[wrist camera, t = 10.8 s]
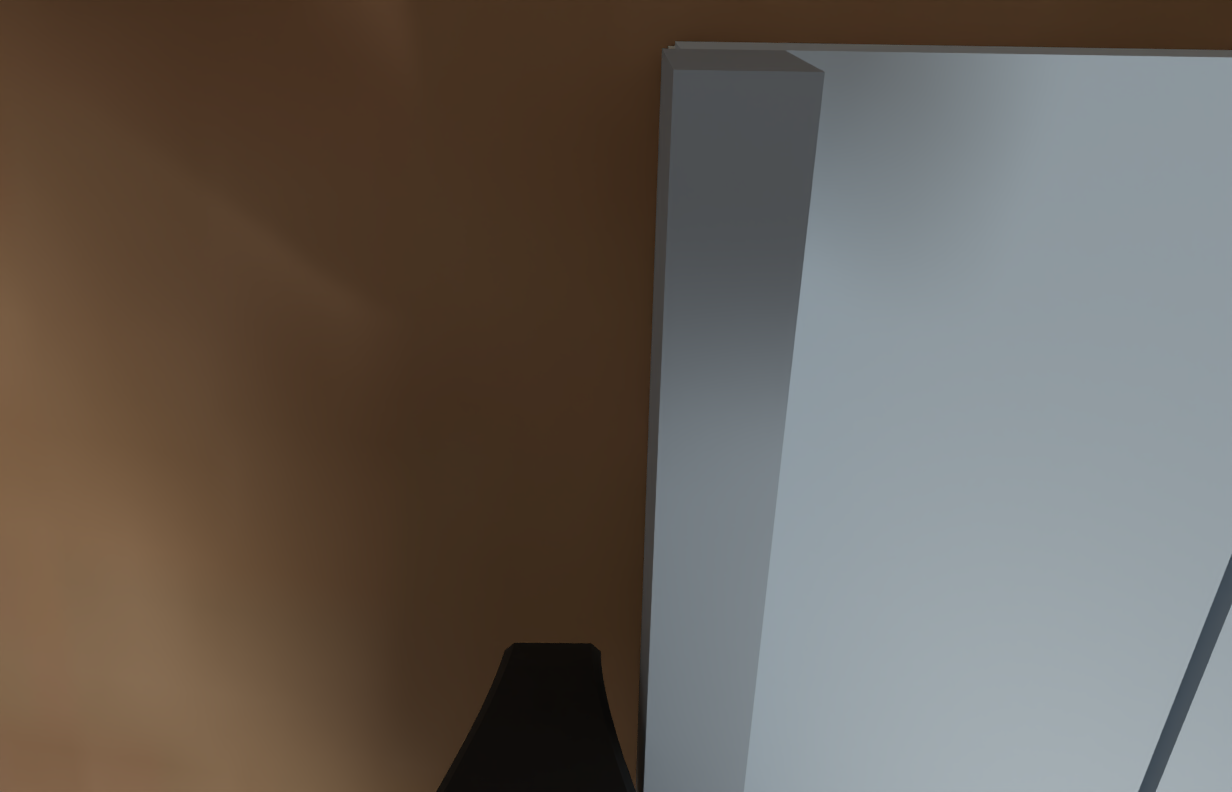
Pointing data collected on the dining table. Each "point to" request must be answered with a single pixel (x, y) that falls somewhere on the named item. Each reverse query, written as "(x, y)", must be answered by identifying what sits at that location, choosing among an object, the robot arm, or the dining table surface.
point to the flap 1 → (932, 414)
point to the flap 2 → (1200, 712)
